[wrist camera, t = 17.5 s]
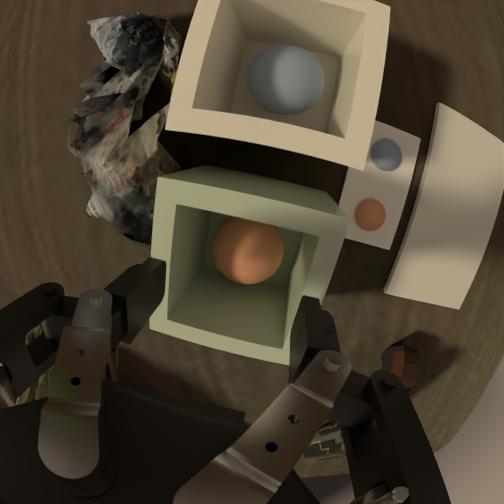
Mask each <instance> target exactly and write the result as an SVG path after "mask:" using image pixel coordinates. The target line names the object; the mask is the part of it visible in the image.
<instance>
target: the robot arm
mask: <svg viewBox="0 0 504 504" xmlns="http://www.w3.org/2000/svg"><path fill="white" fill-rule="evenodd" d="M166 268H167V264H166V261H164V260H160V259H157V258H153V257H150V258H148V259H147V260H146V261H145V262H144V263H143V264H141V265H140V264H137V265H134V266H132V267H129V268H128V269H127V270H126V271H124V272H123V274H121V275H120V276H118V278H116V279H115V280H114V281H113V282H111V283H110V284H109V285H108V286H107V287H106V288H105V289H103V290H101V289H91V290H88V291H85V292H84V293H82V294H81V295H80V297H79V298H76V297H69V296H65V294H64V289H63V287H62V285H60V284H58V283H54V282H49V283H44V284H41V285H40V286H38V287H36V288H34V289H33V290H31V291H30V292H28V293H26V294H25V295H23V296H21V297H20V298H18V299H17V300H15V301H13V302H12V303H10V304H9V305H7V306H6V307H4V308H3V309H1V310H0V504H321V503H320V502H319V501H318V500H317V499H316V497H315V496H314V495H313V494H312V493H311V491H310V490H309V489H308V488H307V487H306V485H305V484H304V483H303V481H302V480H301V479H300V478H299V476H298V475H297V474H296V472H295V471H294V470H293V467H294V466H295V465H296V463H297V462H298V460H299V459H300V458H301V456H302V455H303V453H304V452H305V450H306V449H307V447H308V446H309V444H310V443H311V441H312V440H313V438H314V437H315V435H316V434H317V432H318V430H319V429H320V427H321V426H322V424H323V422H324V421H325V419H327V420H330V421H332V422H335V423H338V424H340V428H341V433H342V437H343V442H344V446H345V451H346V456H347V460H348V465H349V470H350V475H351V480H352V485H353V490H354V496H355V499H354V500H353V501H352V502H351V503H350V504H451V502H450V499H449V495H448V492H447V489H446V486H445V484H444V481H443V478H442V475H441V472H440V470H439V467H438V464H437V461H436V459H435V456H434V454H433V451H432V449H431V446H430V444H429V441H428V439H427V436H426V434H425V432H424V429H423V427H422V424H421V422H420V420H419V418H418V415H417V413H416V411H415V409H414V406H413V404H412V402H411V400H410V398H409V396H408V393H407V391H406V389H405V387H404V385H403V383H402V381H401V380H400V378H399V377H398V376H396V375H395V374H393V373H392V372H389V371H386V370H378V371H376V372H374V373H373V374H372V376H371V377H368V376H365V375H362V374H360V373H357V372H355V371H353V370H352V369H351V363H350V361H349V360H348V359H347V358H346V357H345V356H344V355H343V354H341V352H340V347H339V342H338V337H337V334H336V328H335V323H334V319H333V317H332V316H331V315H330V313H329V312H328V311H324V310H321V305H320V300H319V298H315V297H311V296H306V295H303V296H302V298H301V300H300V303H299V306H298V309H297V312H296V315H295V318H294V321H293V324H292V327H291V332H290V358H289V385H288V386H287V387H286V388H285V389H284V390H283V392H282V393H281V394H280V395H279V396H278V397H277V398H276V400H275V401H274V402H273V403H272V404H271V405H270V406H269V407H268V409H267V410H266V411H265V412H264V413H263V414H262V415H261V416H260V417H259V418H258V419H257V420H256V421H255V423H254V424H253V425H251V424H249V423H247V422H245V421H244V417H245V412H242V411H237V410H233V409H228V408H224V407H220V406H216V405H208V404H195V403H184V402H179V401H177V400H175V399H173V398H172V397H170V396H168V395H166V394H165V393H163V392H161V391H160V390H158V389H157V388H155V387H153V386H152V385H149V384H147V383H144V382H141V381H139V380H136V379H134V378H131V377H129V376H126V375H124V376H123V378H122V379H121V381H120V382H118V346H117V345H118V344H119V342H120V341H122V342H124V343H127V344H129V345H130V343H131V342H132V341H133V339H134V338H135V337H136V335H137V334H138V333H139V331H140V330H141V329H142V327H143V326H144V325H145V323H146V322H147V321H148V319H149V318H150V317H151V315H152V314H153V313H154V311H155V310H156V309H157V307H158V306H159V305H160V304H161V302H162V300H163V298H164V294H165V284H166ZM41 322H42V326H43V329H44V332H43V333H42V334H40V335H39V336H38V337H37V338H35V339H34V340H33V341H31V342H30V343H29V344H28V345H26V343H25V338H26V335H27V333H28V332H29V331H30V330H32V329H33V328H35V327H36V326H37V325H39V324H40V323H41ZM54 364H55V365H54ZM53 365H54V370H53V375H52V380H51V385H50V391H49V396H48V397H44V398H41V399H37V400H34V401H30V402H27V403H23V404H19V405H15V404H16V402H17V398H18V397H19V396H20V395H21V394H23V393H24V392H25V391H26V390H27V389H28V388H29V387H30V386H31V385H32V384H33V383H34V382H35V381H36V380H37V379H38V378H40V377H41V376H42V375H43V374H44V373H45V372H46V371H47V370H48V369H49V368H50V367H52V366H53Z"/></svg>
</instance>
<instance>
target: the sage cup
mask: <svg viewBox="0 0 504 504" xmlns="http://www.w3.org/2000/svg"><path fill="white" fill-rule="evenodd" d="M233 216H235V217H240V218H244V219H248V220H253V221H257V222H262V223H266V224H270V225H274V226H276V227H277V229H278V230H279V232H280V234H281V236H282V239H283V245H284V253H283V258H282V261H281V264H280V266H279V267H278V269H277V270H276V272H275V273H274V274H273V275H272V276H270V277H269V278H268V279H266V280H264V281H262V282H259V283H255V284H241V283H237V282H234V281H232V280H230V279H229V278H227V277H226V276H225V275H224V274H223V273H222V272H221V271H220V270H219V268H218V267H217V265H216V263H215V260H214V256H213V242H214V238H215V235H216V233H217V231H218V229H219V228H220V227H221V225H222V224H223V223H224V222H225V221H227V220H228V219H230V218H231V217H233ZM349 221H350V219H349V217H348V216H347V215H346V214H345V213H344V211H343V210H342V209H341V208H340V207H339V206H338V205H337V203H336V202H335V201H334V200H333V199H332V198H331V197H330V195H329V194H328V193H327V192H325V191H322V190H318V189H314V188H310V187H306V186H302V185H298V184H294V183H290V182H286V181H282V180H277V179H273V178H268V177H264V176H259V175H255V174H250V173H245V172H240V171H235V170H230V169H225V168H219V167H214V166H208V165H205V166H200V167H196V168H192V169H187V170H183V171H179V172H175V173H171V174H167V175H163V176H159V177H158V179H157V188H156V197H155V206H154V217H153V230H152V245H151V257H153V258H157V259H160V260H164V261H166V264H167V268H166V284H165V294H164V298H163V300H162V302H161V304H160V305H159V306H158V307H157V309H156V310H155V311H154V313H153V314H152V315H151V317H150V329H152V330H155V331H158V332H161V333H165V334H168V335H171V336H174V337H177V338H180V339H184V340H187V341H191V342H194V343H197V344H201V345H205V346H208V347H212V348H216V349H219V350H223V351H227V352H231V353H235V354H239V355H243V356H248V357H252V358H257V359H261V360H266V361H271V362H275V363H280V364H286V365H289V358H290V332H291V327H292V324H293V321H294V318H295V315H296V312H297V309H298V306H299V303H300V300H301V298H302V296H303V295H306V296H311V297H315V298H319V300H320V305H321V304H322V302H323V299H324V296H325V293H326V291H327V288H328V285H329V282H330V280H331V277H332V274H333V271H334V268H335V265H336V262H337V259H338V256H339V253H340V250H341V247H342V244H343V241H344V238H345V235H346V231H347V228H348V225H349Z"/></svg>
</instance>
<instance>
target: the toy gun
mask: <svg viewBox="0 0 504 504" xmlns="http://www.w3.org/2000/svg"><path fill="white" fill-rule="evenodd" d="M381 359H382V369H381V370H386V371H389V372H392V373H393V374H395V375H396V376H398V377H399V378H400V380H401V381H402V383H403V385H404V387H405V389H406V391H407V393H408V392H409V390H410V389H411V388H413V386H414V384H415V382H416V379H417V375H418V371H419V367H420V356H419V354H418V349H415V348H412V347H408V346H405V345H402V346H392V347H388V348H387V349H385V351H384V352H383V353H382V357H381ZM342 456H346V451H345V446H344V442H343V437H342V433H341V428H340V424H338V423H335V422H333V423H331V424H328V425H326V426H323V427H320V429H319V430H318V432H317V434H316V435H315V437H314V438H313V440H312V441H311V443H310V444H309V446H308V447H307V449H306V450H305V452H304V453H303V456H302V458H304V459H311V460H324V459H330V458H336V457H342Z"/></svg>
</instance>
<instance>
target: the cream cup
mask: <svg viewBox="0 0 504 504" xmlns="http://www.w3.org/2000/svg"><path fill="white" fill-rule="evenodd" d="M389 19H390V6H387V5H385V4H382V3H379V2H377V1H374V0H198V3H197V6H196V9H195V12H194V15H193V18H192V21H191V24H190V27H189V30H188V34H187V37H186V40H185V44H184V48H183V51H182V55H181V59H180V62H179V66H178V70H177V74H176V79H175V83H174V87H173V92H172V96H171V101H170V106H169V111H168V116H167V121H166V127H165V130H171V131H179V132H187V133H195V134H202V135H208V136H215V137H221V138H228V139H233V140H239V141H245V142H250V143H255V144H260V145H265V146H270V147H274V148H279V149H283V150H288V151H292V152H296V153H300V154H304V155H308V156H312V157H316V158H320V159H324V160H327V161H331V162H334V163H338V164H342V165H345V166H349V167H352V168H355V169H359V170H362V171H364V167H365V163H366V158H367V154H368V150H369V146H370V141H371V137H372V132H373V127H374V122H375V117H376V112H377V107H378V102H379V96H380V90H381V84H382V78H383V71H384V64H385V57H386V49H387V40H388V30H389ZM282 44H287V45H294V46H298V47H300V48H303V49H305V50H307V51H308V52H309V53H311V54H312V55H313V56H314V57H315V58H316V59H317V60H318V62H319V63H320V65H321V67H322V69H323V72H324V77H325V85H324V90H323V93H322V95H321V97H320V98H319V100H318V101H317V102H316V103H315V104H314V105H313V106H312V107H311V108H309V109H308V110H306V111H304V112H301V113H298V114H292V115H283V114H277V113H274V112H271V111H269V110H267V109H265V108H264V107H262V106H261V105H260V104H259V103H257V101H256V100H255V99H254V98H253V96H252V95H251V93H250V90H249V87H248V83H247V73H248V69H249V66H250V64H251V62H252V61H253V59H254V58H255V57H256V56H257V55H258V54H259V53H260V52H261V51H263V50H265V49H266V48H269V47H271V46H275V45H282Z"/></svg>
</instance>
